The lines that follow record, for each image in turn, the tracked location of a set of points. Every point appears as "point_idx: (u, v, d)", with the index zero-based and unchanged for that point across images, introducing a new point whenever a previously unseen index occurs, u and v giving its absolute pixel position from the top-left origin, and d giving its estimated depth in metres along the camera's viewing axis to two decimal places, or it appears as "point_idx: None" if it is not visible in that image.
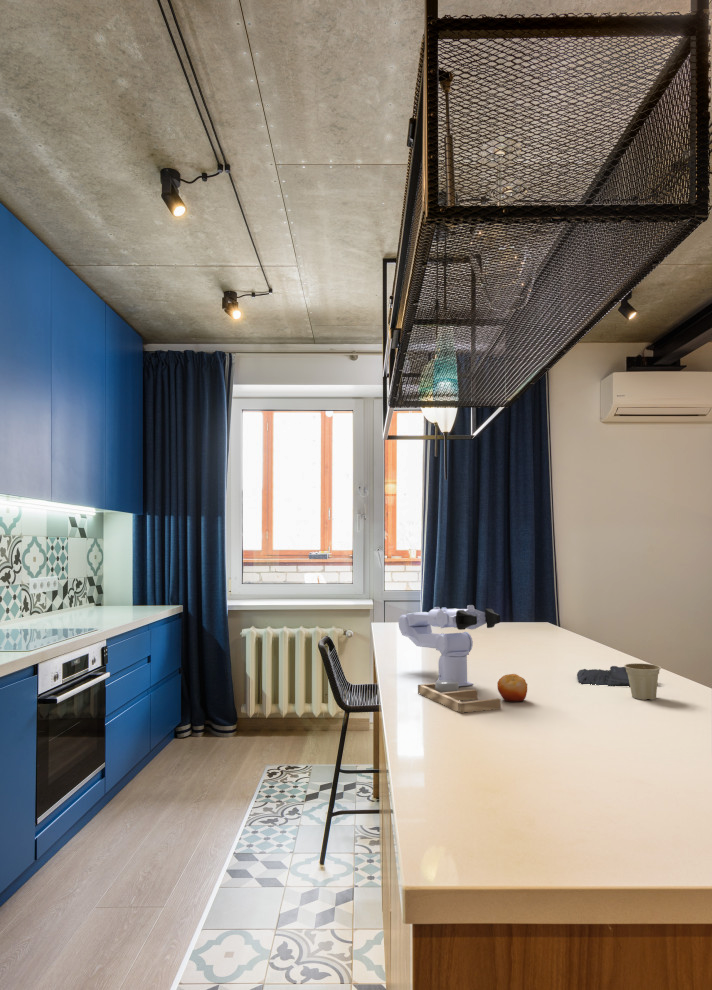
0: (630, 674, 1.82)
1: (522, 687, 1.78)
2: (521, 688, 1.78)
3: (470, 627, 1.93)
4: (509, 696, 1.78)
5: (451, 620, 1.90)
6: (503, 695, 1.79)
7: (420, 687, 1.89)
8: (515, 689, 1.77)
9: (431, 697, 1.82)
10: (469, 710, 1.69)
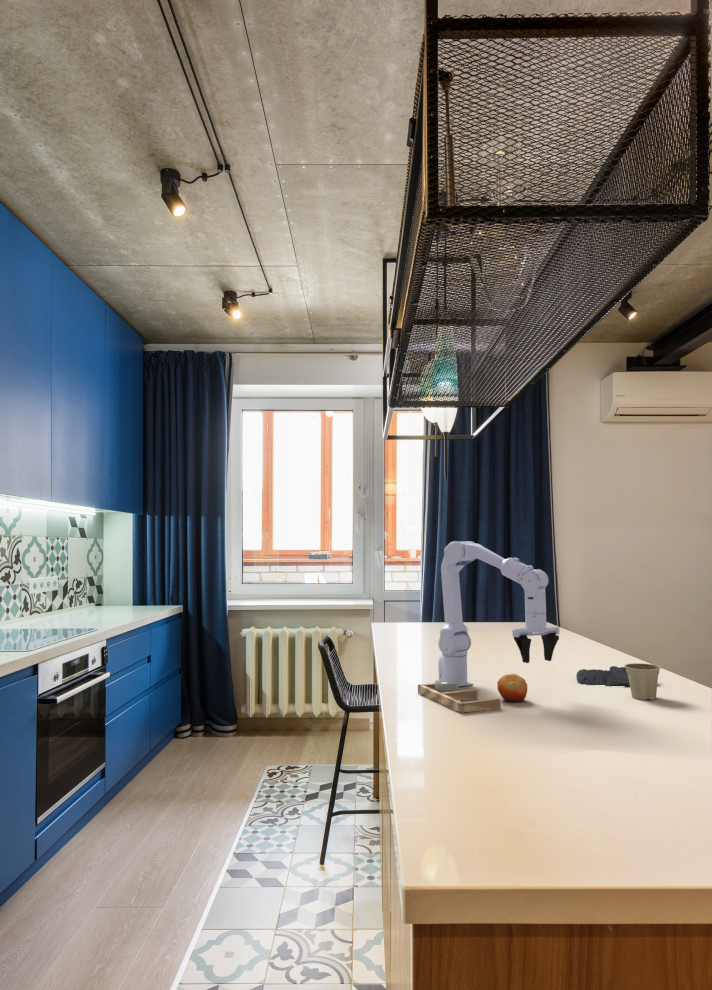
0: (630, 674, 1.82)
1: (522, 687, 1.78)
2: (521, 688, 1.78)
3: None
4: (509, 696, 1.78)
5: (514, 634, 1.82)
6: (503, 695, 1.79)
7: (420, 687, 1.89)
8: (515, 689, 1.77)
9: (431, 697, 1.82)
10: (469, 710, 1.69)
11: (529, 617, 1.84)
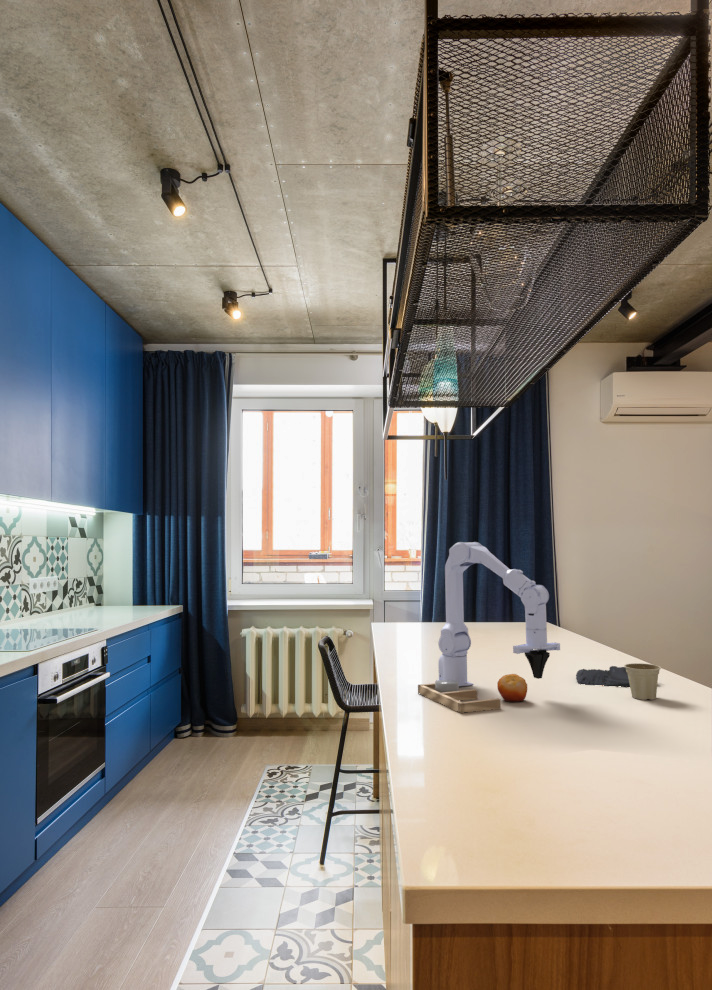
0: (630, 674, 1.82)
1: (522, 687, 1.78)
2: (521, 688, 1.78)
3: None
4: (509, 696, 1.78)
5: (514, 651, 1.82)
6: (503, 695, 1.79)
7: (420, 687, 1.89)
8: (515, 689, 1.77)
9: (431, 697, 1.82)
10: (469, 710, 1.69)
11: (530, 633, 1.83)
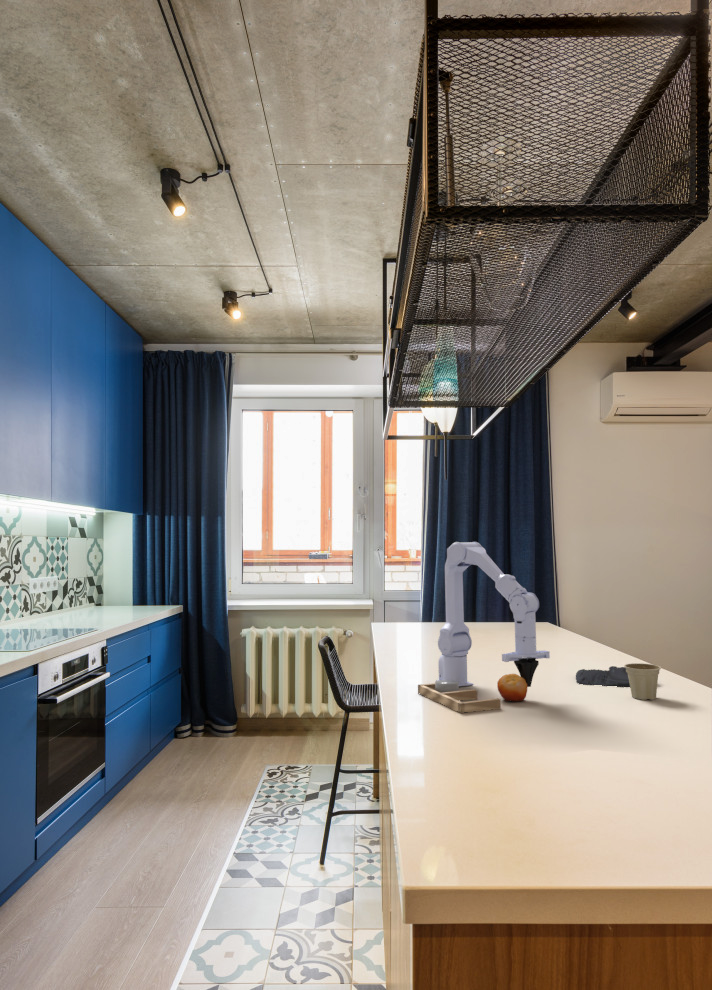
0: (630, 674, 1.82)
1: (522, 687, 1.78)
2: (521, 687, 1.78)
3: None
4: (509, 696, 1.78)
5: (503, 659, 1.81)
6: (503, 695, 1.79)
7: (420, 687, 1.89)
8: (515, 689, 1.77)
9: (431, 697, 1.82)
10: (469, 710, 1.69)
11: (519, 641, 1.82)
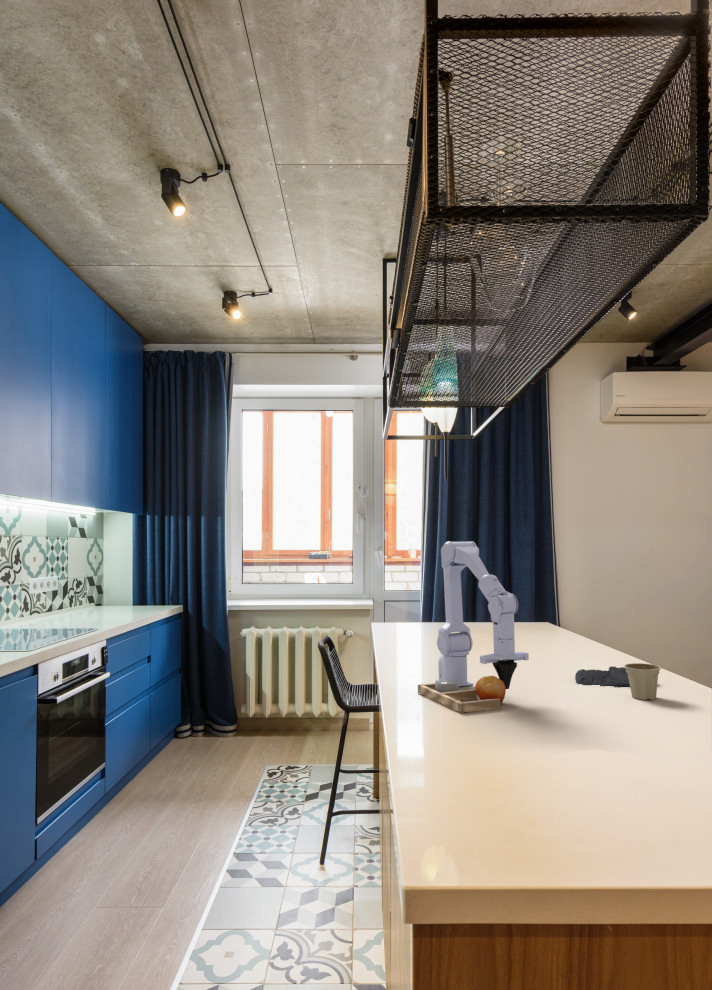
0: (630, 674, 1.82)
1: (500, 689, 1.75)
2: (499, 690, 1.75)
3: None
4: None
5: (481, 661, 1.78)
6: (481, 697, 1.76)
7: (420, 687, 1.89)
8: (492, 691, 1.75)
9: (431, 697, 1.82)
10: (469, 710, 1.69)
11: (497, 643, 1.79)
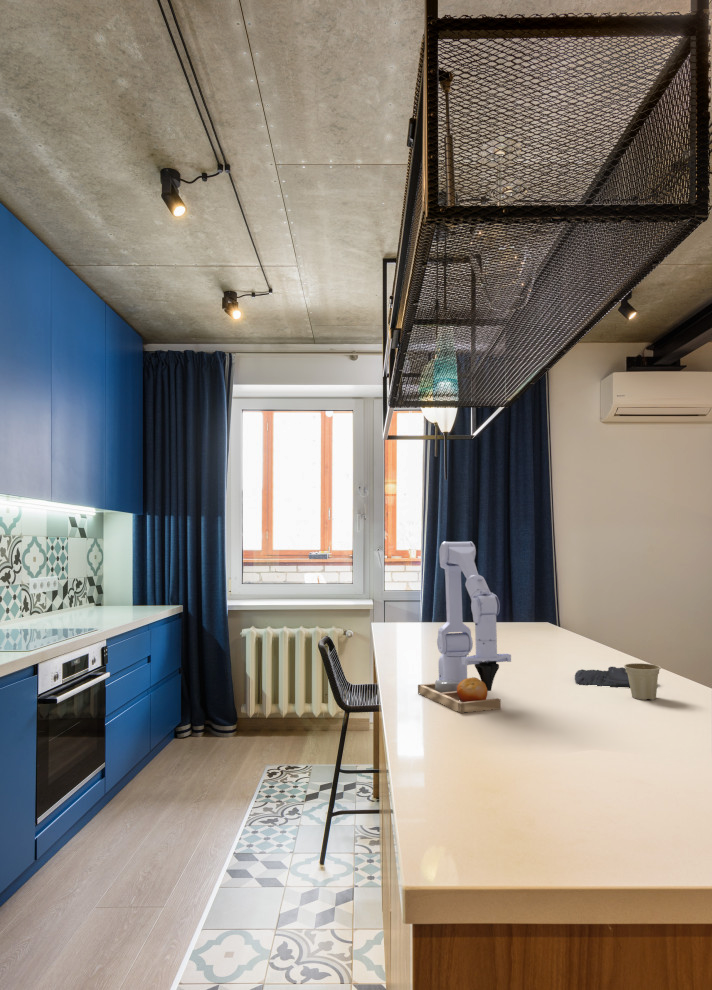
0: (630, 674, 1.82)
1: (482, 691, 1.73)
2: (481, 692, 1.73)
3: None
4: (468, 701, 1.73)
5: (463, 662, 1.76)
6: (462, 699, 1.74)
7: (420, 687, 1.89)
8: (474, 693, 1.73)
9: (431, 697, 1.82)
10: (469, 710, 1.69)
11: (479, 644, 1.77)
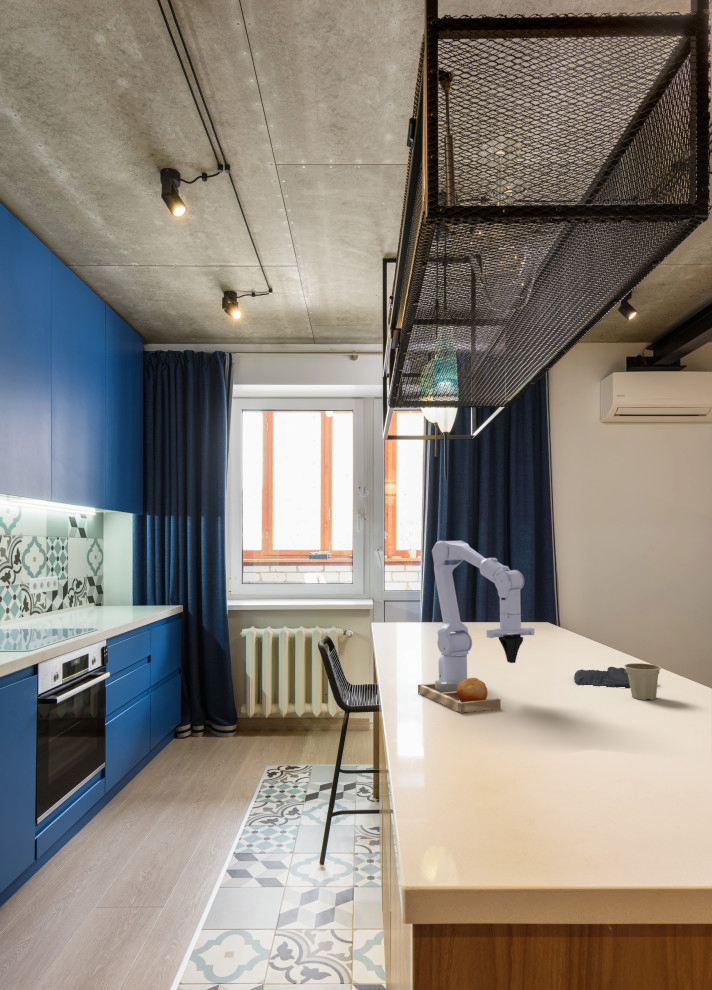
0: (630, 674, 1.82)
1: (482, 691, 1.73)
2: (481, 692, 1.73)
3: None
4: (468, 701, 1.73)
5: (488, 635, 1.82)
6: (462, 700, 1.74)
7: (420, 687, 1.89)
8: (474, 694, 1.73)
9: (431, 697, 1.82)
10: (469, 710, 1.69)
11: (503, 618, 1.83)
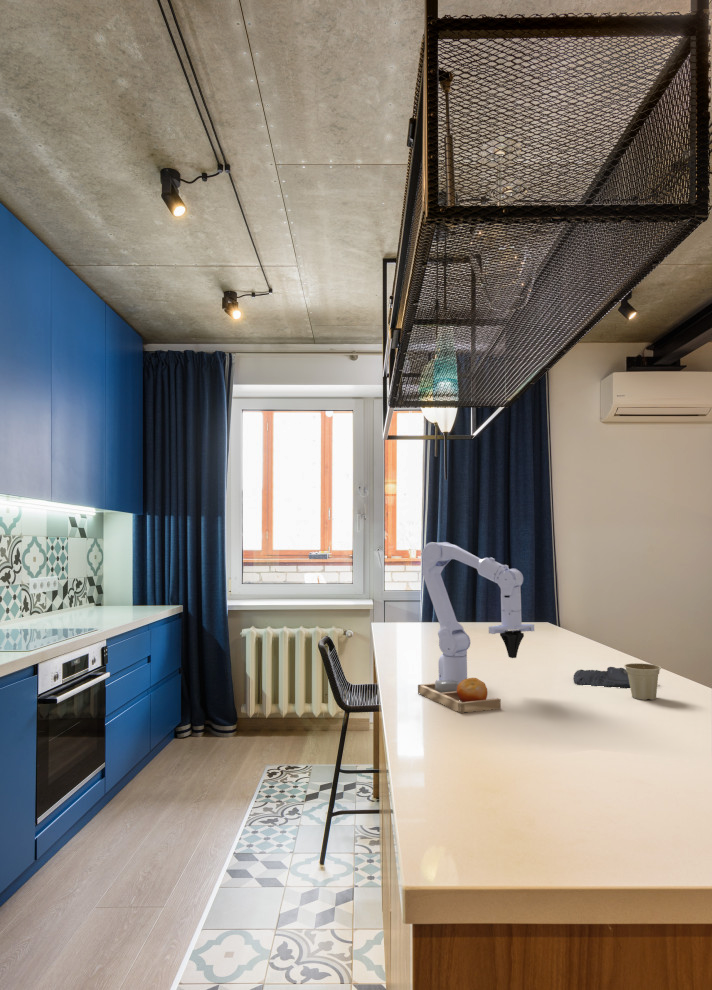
0: (630, 674, 1.82)
1: (482, 691, 1.73)
2: (481, 692, 1.73)
3: None
4: (468, 701, 1.73)
5: (490, 631, 1.89)
6: (462, 700, 1.74)
7: (420, 687, 1.89)
8: (474, 694, 1.72)
9: (431, 697, 1.82)
10: (469, 710, 1.69)
11: (505, 615, 1.90)
